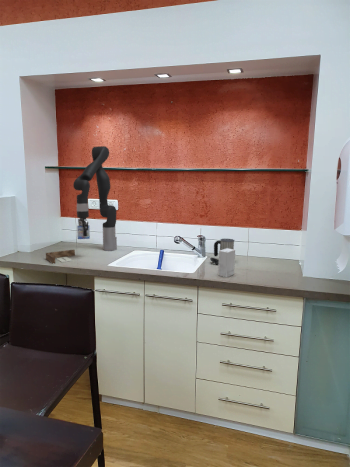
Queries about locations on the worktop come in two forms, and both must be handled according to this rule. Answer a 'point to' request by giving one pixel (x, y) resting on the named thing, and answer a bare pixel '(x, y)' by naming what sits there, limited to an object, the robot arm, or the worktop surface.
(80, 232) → the medicine box
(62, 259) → the pad
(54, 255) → the brown piece
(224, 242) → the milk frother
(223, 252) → the skincare box
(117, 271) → the worktop surface
